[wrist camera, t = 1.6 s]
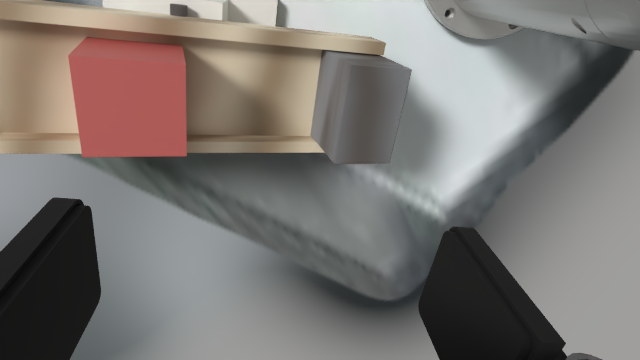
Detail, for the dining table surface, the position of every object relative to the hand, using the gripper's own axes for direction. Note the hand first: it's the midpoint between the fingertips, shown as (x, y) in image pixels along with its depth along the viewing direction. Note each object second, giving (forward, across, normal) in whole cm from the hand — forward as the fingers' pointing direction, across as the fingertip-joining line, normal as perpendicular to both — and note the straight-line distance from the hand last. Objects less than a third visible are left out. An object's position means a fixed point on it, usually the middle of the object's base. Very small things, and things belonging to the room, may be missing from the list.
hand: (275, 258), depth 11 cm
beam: (+18, +6, 0) cm, 19 cm away
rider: (+16, +8, 0) cm, 18 cm away
